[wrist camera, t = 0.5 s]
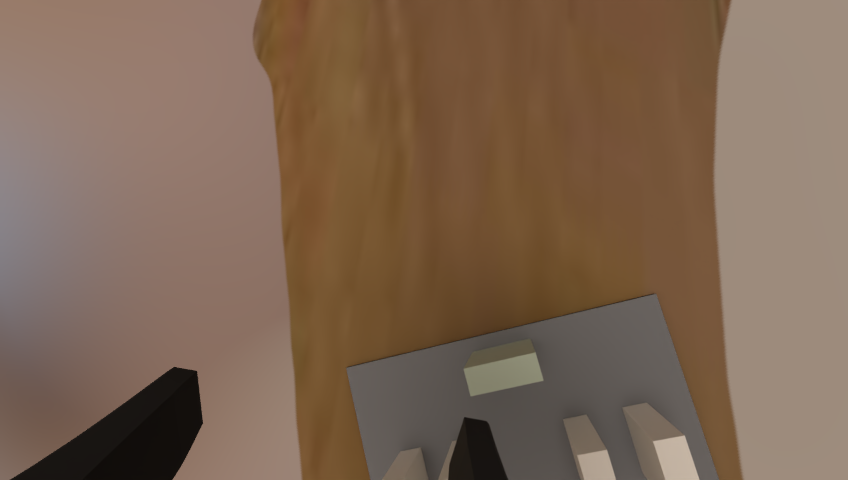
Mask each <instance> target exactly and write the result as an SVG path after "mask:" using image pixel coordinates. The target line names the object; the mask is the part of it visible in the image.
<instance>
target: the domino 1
mask: <svg viewBox="0 0 848 480" xmlns="http://www.w3.org/2000/svg"><path fill="white" fill-rule="evenodd" d="M382 480H428V476H427V472H426V467H425V463H424V459H423V455H422V451H421V447H420V448H415V449H410V450H405V451H400V453H399V454H398V456H397V457H396V459H395V460H394V462H393V463H392V465H391V466H390V468H389V470H388V471H387V473H386V474H385V476H384V477H383V479H382Z"/></svg>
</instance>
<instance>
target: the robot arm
mask: <svg viewBox="0 0 848 480" xmlns="http://www.w3.org/2000/svg"><path fill="white" fill-rule="evenodd" d="M202 424H203V420H202V411H201V402H200V394H199V385H198V376H197V371H194V370H188V369H182V368H177V367H173V368H172V369H170V370H169V371H168V372H166V373H165V374H163V375H162V376H161V377H159V378H158V379H157V380H155V381H154V382H152V383H151V384H150V385H148V386H147V387H146V388H145V389H143V390H142V391H140V392H139V393H138V394H136V395H135V396H133V397H132V398H131V399H129V400H128V401H127V402H125V403H124V404H122V405H121V406H120V407H118V408H117V409H116V410H114V411H113V412H111V413H110V414H108V415H107V416H106V417H104V418H103V419H101V420H100V421H99V422H97V423H96V424H94V425H93V426H91V427H90V428H89V429H87V430H86V431H85V432H83V433H82V434H80V435H79V436H77V437H76V438H74V439H73V440H71V441H70V442H68V443H67V444H65V445H64V446H62V447H61V448H59V449H57V450H56V451H54V452H53V453H51V454H50V455H48V456H47V457H45V458H44V459H42V460H41V461H39V462H38V463H36V464H35V465H33V466H32V467H30V468H29V469H27V470H25V471H24V472H22V473H20V474H19V475H17V476H16V477H14V478H12V479H11V480H172V479H173V478H174V476H175V475H176V473H177V472H178V470H179V468H180V467H181V465H182V463H183V462H184V460H185V458H186V456H187V454H188V452H189V450H190V448H191V446H192V444H193V442H194V440H195V438H196V436H197V434H198V432H199V430H200V428H201V426H202ZM448 480H508V478H507V475H506V472H505V470H504V467H503V464H502V461H501V459H500V456H499V453H498V450H497V447H496V444H495V441H494V438H493V435H492V432H491V428H490V425H489V423H488V422H487V421H484V420H479V419H473V418H467V417H464V419H463V422H462V426H461V429H460V432H459V435H458V438H457V441H456V445H455V448H454V451H453V454H452V457H451V460H450V464H449V475H448Z"/></svg>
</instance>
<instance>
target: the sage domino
mask: <svg viewBox="0 0 848 480" xmlns="http://www.w3.org/2000/svg"><path fill="white" fill-rule="evenodd" d="M464 373H465V377H466V380H467V384H468V388H469V392H470V396H475V395H480V394H484V393H489V392H494V391H498V390H503V389H508V388H512V387H517V386H522V385H526V384H531V383H535V382H540V381H544V380H543V377H542V373H541V370H540V366H539V363H538V359H537V356H536V352H535V350H534V347H533V344H532V342H531V339H526V340H521V341H517V342H513V343H509V344H504V345H500V346H496V347H491V348H487V349H483V350H479V351H474V352H472V354H471V356H470V358H469V359H468V361H467V363H466V365H465V367H464Z"/></svg>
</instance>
